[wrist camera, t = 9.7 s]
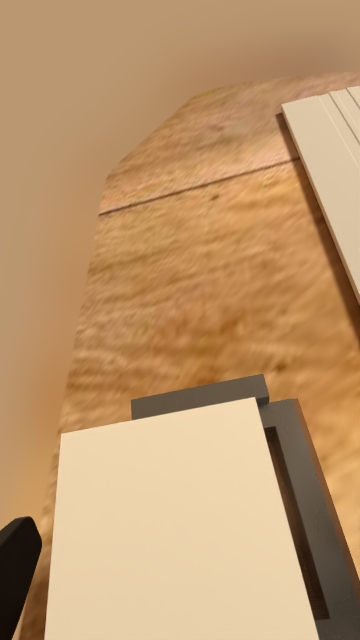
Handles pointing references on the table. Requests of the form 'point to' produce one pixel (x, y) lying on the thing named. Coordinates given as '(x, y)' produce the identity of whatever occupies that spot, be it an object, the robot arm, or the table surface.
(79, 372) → the table surface
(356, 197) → the baseboard molding
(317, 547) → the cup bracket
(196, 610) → the cream rectangular block
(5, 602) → the robot arm
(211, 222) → the table surface
